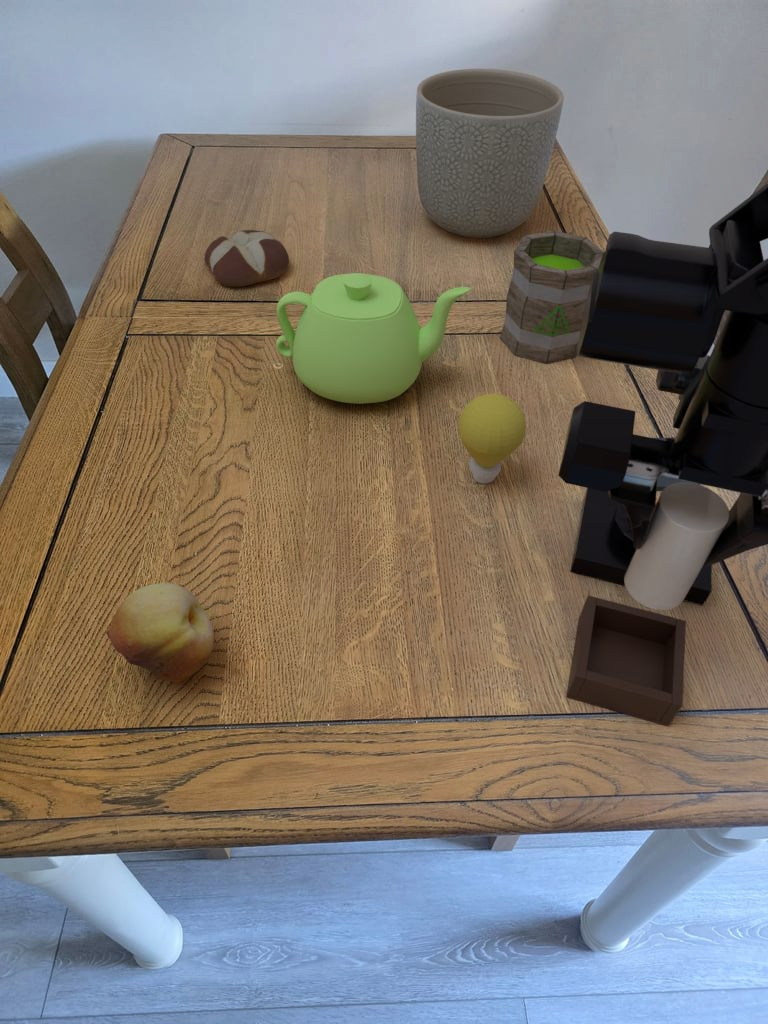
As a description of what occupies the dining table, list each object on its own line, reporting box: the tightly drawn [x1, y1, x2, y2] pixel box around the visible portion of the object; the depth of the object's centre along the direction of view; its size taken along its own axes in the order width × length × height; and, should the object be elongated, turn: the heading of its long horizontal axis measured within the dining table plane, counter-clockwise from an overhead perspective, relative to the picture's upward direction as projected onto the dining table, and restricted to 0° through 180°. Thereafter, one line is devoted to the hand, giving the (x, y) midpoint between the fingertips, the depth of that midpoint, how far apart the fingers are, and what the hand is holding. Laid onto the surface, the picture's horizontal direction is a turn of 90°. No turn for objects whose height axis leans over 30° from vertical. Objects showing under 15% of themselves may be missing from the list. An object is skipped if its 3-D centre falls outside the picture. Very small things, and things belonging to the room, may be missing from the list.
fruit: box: [106, 582, 215, 683], centre depth 56 cm, size 8×8×8 cm
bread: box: [204, 229, 290, 288], centre depth 101 cm, size 11×11×5 cm
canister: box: [624, 483, 730, 611], centre depth 51 cm, size 5×5×9 cm
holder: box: [565, 595, 687, 727], centre depth 58 cm, size 8×8×4 cm
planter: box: [415, 68, 565, 239], centre depth 107 cm, size 21×21×19 cm
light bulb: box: [457, 392, 527, 485], centre depth 71 cm, size 7×7×10 cm
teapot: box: [275, 272, 470, 405], centre depth 81 cm, size 22×15×13 cm
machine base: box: [570, 488, 713, 606], centre depth 67 cm, size 12×10×4 cm
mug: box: [499, 230, 605, 365], centre depth 88 cm, size 16×11×12 cm
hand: (671, 552), depth 51 cm, fingers closed on canister, 4 cm apart
